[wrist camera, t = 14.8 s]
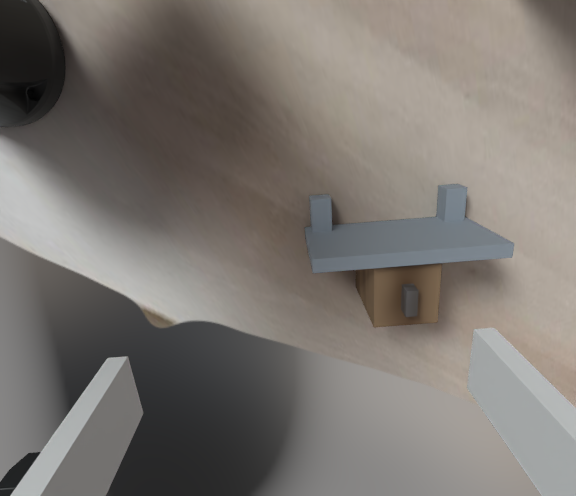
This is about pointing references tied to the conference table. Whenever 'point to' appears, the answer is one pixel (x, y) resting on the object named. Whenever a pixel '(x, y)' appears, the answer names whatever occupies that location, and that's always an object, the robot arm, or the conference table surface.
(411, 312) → the cabinet block
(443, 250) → the wall board
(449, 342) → the conference table surface
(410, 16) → the conference table surface
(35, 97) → the robot arm
